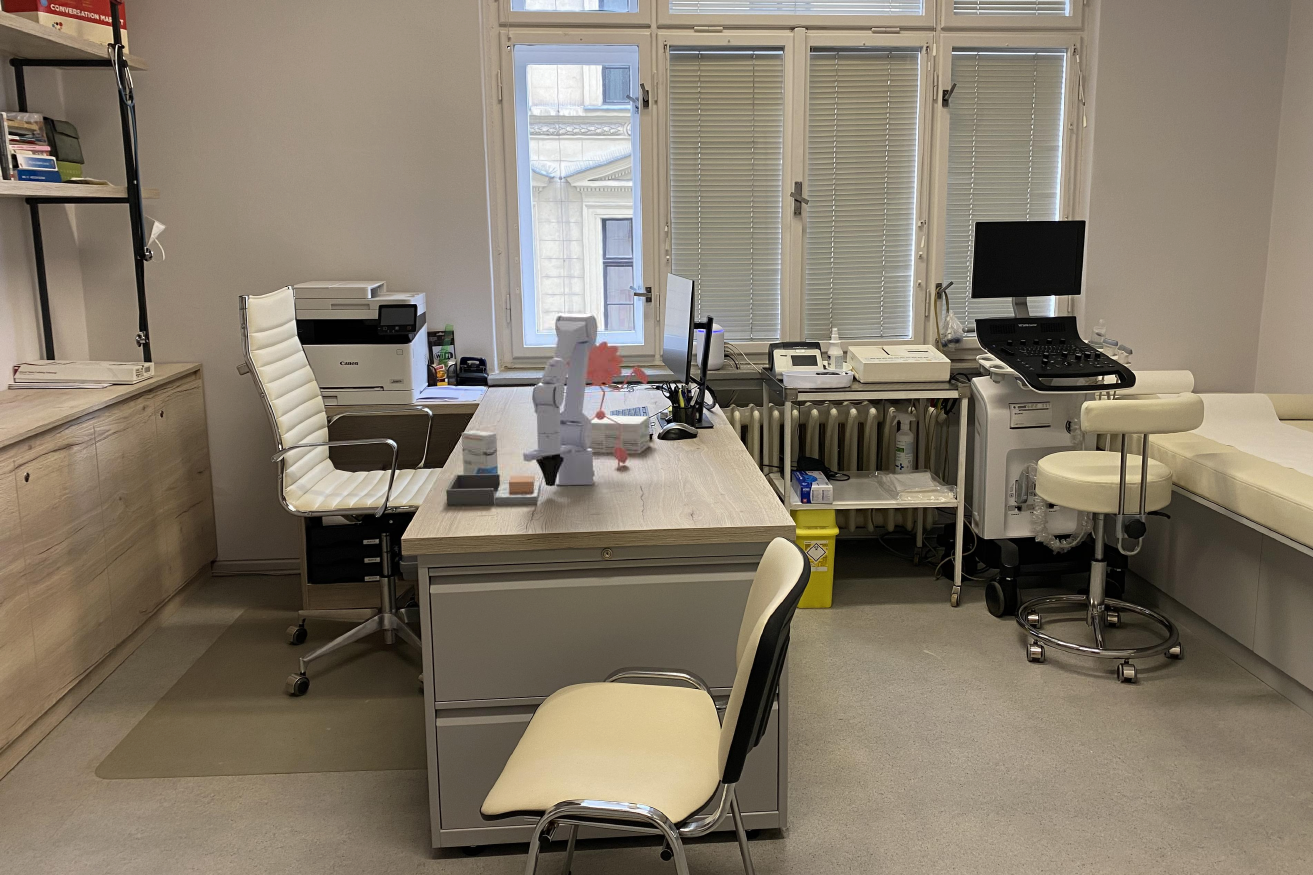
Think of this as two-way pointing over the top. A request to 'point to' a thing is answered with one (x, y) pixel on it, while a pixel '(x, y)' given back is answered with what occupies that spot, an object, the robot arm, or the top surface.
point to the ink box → (479, 452)
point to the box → (473, 490)
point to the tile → (521, 483)
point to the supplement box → (631, 434)
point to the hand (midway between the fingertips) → (550, 485)
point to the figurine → (609, 381)
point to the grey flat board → (516, 495)
